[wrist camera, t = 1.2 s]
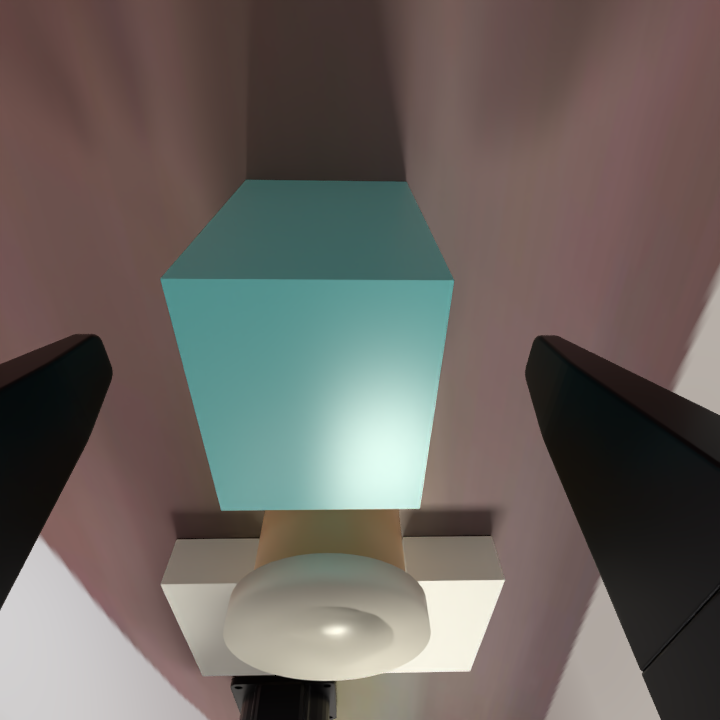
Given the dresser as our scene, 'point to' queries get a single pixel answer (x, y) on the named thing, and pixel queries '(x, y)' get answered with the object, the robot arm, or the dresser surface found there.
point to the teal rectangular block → (313, 343)
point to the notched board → (422, 561)
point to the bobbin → (328, 597)
